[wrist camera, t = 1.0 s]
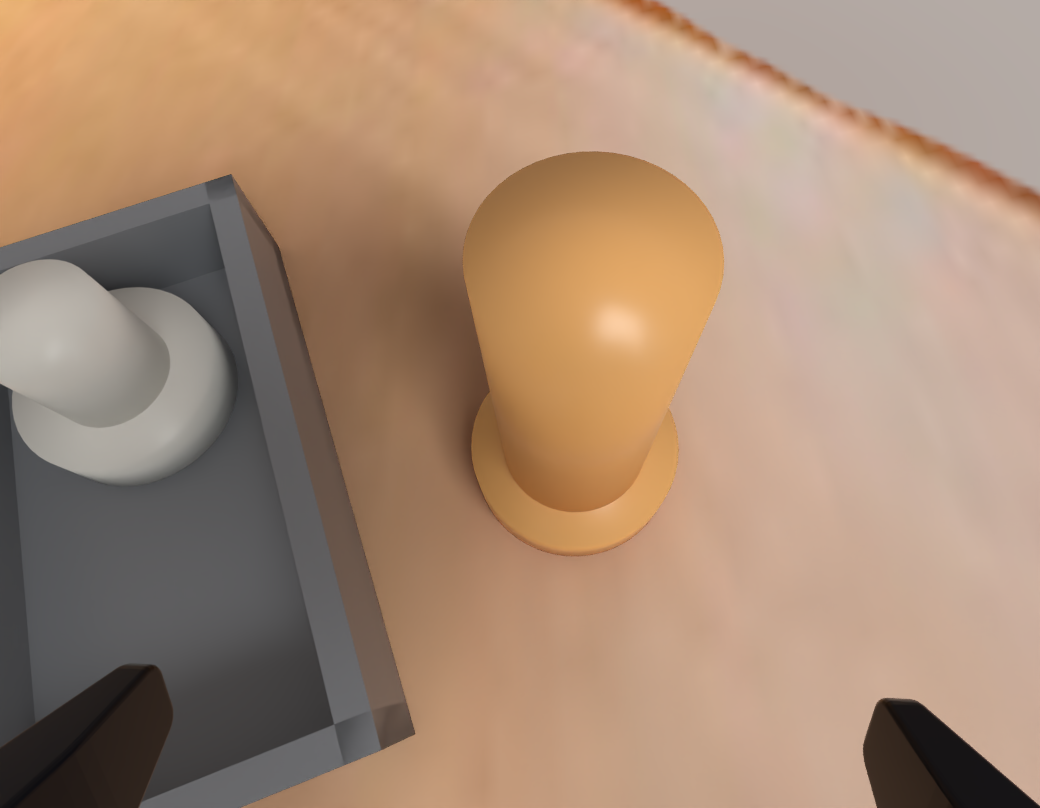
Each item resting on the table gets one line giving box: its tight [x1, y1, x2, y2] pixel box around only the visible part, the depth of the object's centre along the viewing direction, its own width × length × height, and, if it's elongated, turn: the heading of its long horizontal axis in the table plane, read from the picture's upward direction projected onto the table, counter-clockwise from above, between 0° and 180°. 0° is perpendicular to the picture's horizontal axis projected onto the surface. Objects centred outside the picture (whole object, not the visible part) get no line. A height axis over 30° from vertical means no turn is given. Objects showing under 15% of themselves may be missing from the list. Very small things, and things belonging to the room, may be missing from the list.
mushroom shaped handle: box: [463, 152, 724, 556], centre depth 18 cm, size 7×7×13 cm
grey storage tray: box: [0, 174, 415, 808], centre depth 21 cm, size 20×12×7 cm, turn 20°
